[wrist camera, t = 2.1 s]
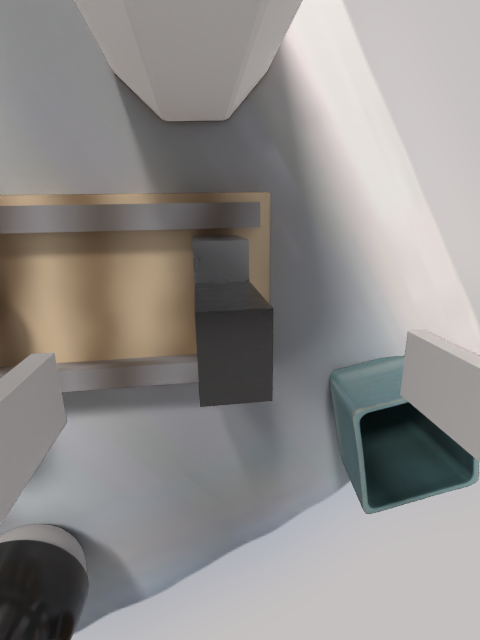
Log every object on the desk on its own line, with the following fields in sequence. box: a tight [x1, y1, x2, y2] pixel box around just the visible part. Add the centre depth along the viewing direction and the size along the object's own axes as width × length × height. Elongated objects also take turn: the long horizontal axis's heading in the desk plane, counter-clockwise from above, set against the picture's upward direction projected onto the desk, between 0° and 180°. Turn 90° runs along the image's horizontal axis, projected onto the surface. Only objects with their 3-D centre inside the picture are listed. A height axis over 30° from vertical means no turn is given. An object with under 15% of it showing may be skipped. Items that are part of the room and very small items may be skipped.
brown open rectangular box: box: [0, 192, 270, 392], centre depth 22 cm, size 26×14×9 cm, turn 91°
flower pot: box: [330, 356, 479, 514], centre depth 27 cm, size 9×9×9 cm
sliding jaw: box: [192, 235, 273, 407], centre depth 19 cm, size 3×8×12 cm, turn 1°
